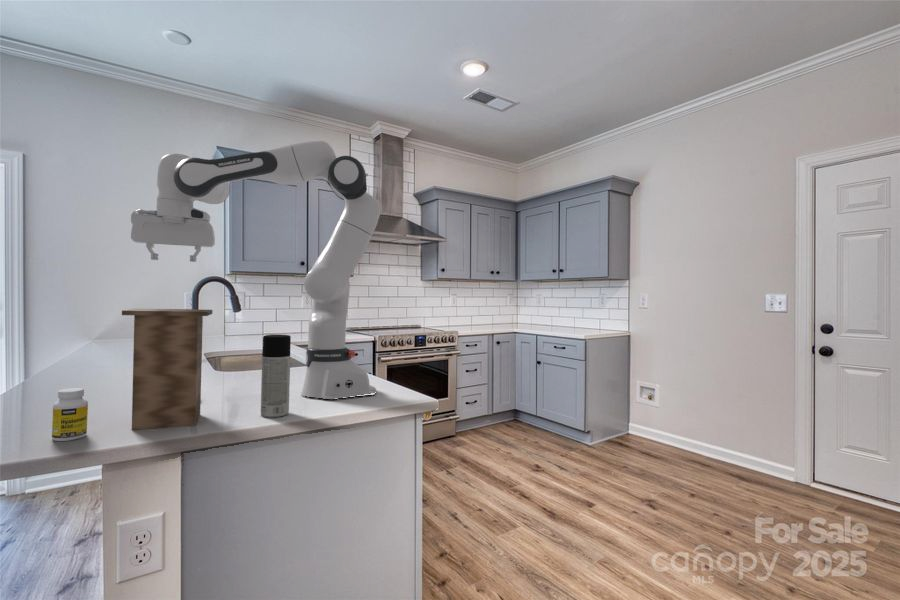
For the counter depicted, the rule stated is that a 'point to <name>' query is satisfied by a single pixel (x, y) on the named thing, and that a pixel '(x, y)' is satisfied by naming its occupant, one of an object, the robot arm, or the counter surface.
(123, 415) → the counter surface
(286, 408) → the spray can
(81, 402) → the supplement bottle
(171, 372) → the pedestal
